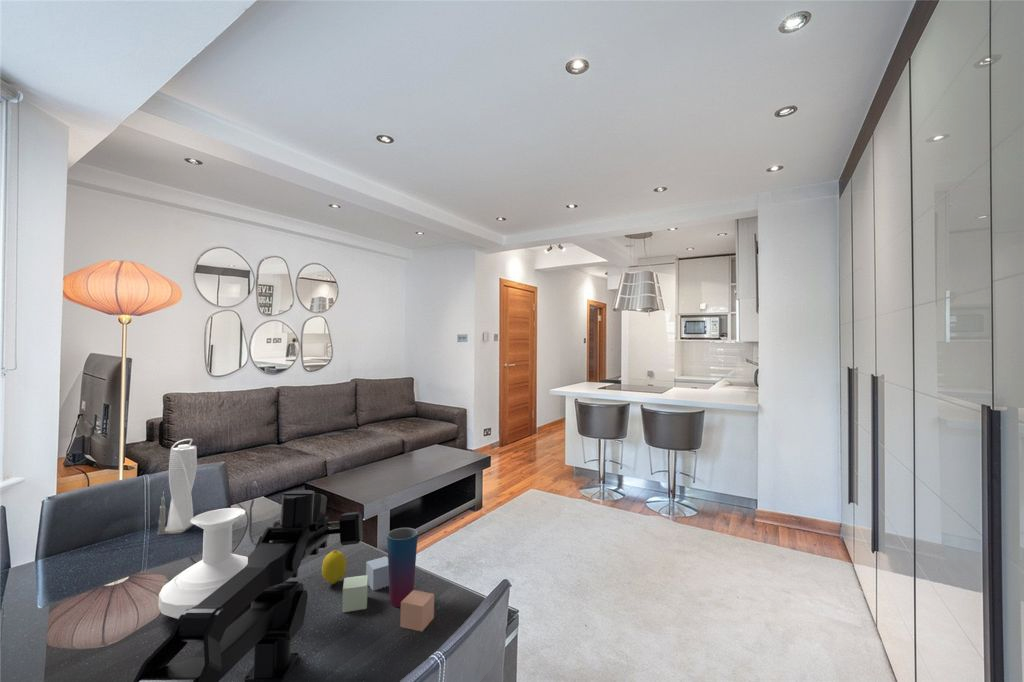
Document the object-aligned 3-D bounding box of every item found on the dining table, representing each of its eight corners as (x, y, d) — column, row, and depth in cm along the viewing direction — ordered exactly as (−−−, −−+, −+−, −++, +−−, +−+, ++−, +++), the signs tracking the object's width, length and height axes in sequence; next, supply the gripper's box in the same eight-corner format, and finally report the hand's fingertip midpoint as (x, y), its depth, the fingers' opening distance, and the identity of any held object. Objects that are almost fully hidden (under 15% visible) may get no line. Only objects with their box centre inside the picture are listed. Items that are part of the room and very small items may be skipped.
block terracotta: (422, 632, 87) (422, 606, 87) (400, 627, 88) (400, 602, 89) (433, 618, 92) (434, 593, 92) (413, 613, 93) (413, 589, 93)
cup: (383, 596, 99) (384, 530, 100) (413, 590, 102) (414, 525, 103) (388, 612, 93) (389, 541, 94) (419, 605, 96) (420, 536, 97)
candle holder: (135, 639, 84) (140, 538, 85) (183, 587, 103) (187, 505, 104) (251, 623, 89) (254, 528, 90) (276, 576, 108) (279, 498, 109)
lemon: (337, 591, 102) (338, 556, 102) (316, 588, 103) (317, 554, 103) (350, 579, 107) (351, 546, 108) (330, 577, 108) (331, 544, 109)
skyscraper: (172, 524, 142) (176, 438, 143) (200, 523, 143) (203, 437, 145) (156, 534, 134) (160, 443, 135) (185, 533, 135) (189, 442, 136)
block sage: (366, 609, 95) (367, 585, 95) (342, 612, 93) (342, 589, 93) (367, 597, 99) (367, 574, 100) (344, 600, 98) (344, 577, 98)
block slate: (393, 584, 105) (393, 563, 105) (373, 591, 102) (373, 569, 102) (385, 576, 109) (386, 556, 109) (365, 582, 106) (366, 561, 106)
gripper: (346, 496, 88) (371, 482, 103) (254, 505, 88) (292, 490, 103) (349, 553, 86) (373, 530, 102) (255, 563, 86) (293, 539, 101)
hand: (333, 521), depth 102 cm, fingers open, 9 cm apart
